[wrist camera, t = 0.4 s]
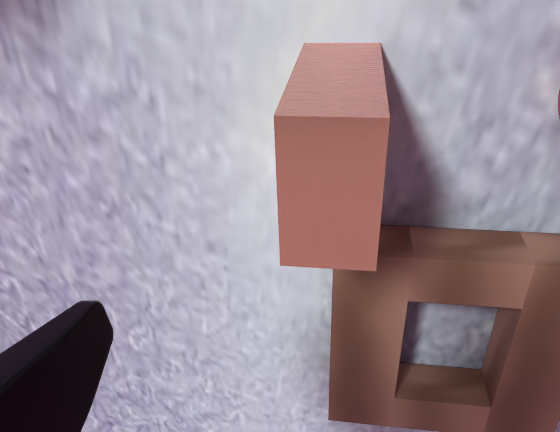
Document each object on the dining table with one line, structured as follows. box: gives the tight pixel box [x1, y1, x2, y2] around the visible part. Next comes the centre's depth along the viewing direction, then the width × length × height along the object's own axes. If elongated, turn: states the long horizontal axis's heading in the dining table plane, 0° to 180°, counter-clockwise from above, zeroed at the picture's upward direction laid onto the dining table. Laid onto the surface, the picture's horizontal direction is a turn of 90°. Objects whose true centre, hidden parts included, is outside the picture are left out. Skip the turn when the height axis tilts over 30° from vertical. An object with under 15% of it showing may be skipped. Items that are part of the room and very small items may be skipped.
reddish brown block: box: [274, 43, 390, 271], centre depth 17 cm, size 3×5×8 cm, turn 2°
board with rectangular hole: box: [328, 225, 560, 432], centre depth 25 cm, size 12×12×2 cm
